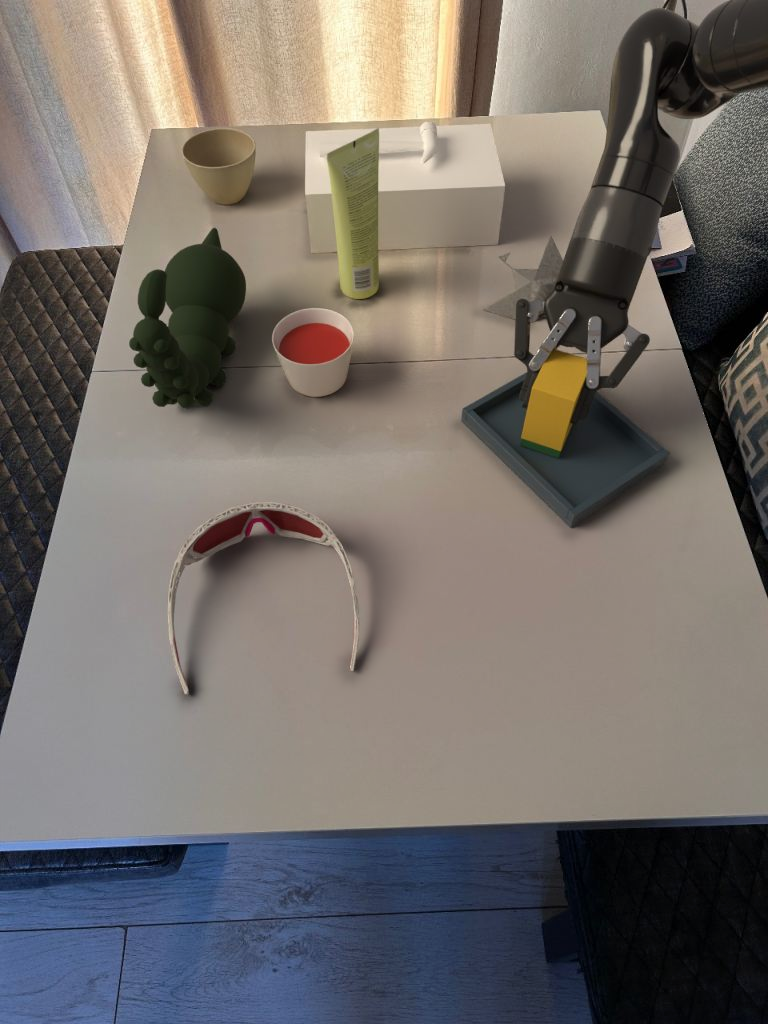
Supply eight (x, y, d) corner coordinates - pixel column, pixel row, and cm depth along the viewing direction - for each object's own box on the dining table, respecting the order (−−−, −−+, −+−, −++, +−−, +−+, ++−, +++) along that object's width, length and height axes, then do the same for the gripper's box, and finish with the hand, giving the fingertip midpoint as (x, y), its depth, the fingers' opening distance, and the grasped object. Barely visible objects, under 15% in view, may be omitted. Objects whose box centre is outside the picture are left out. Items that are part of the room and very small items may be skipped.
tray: (664, 465, 81) (670, 453, 80) (570, 528, 77) (574, 516, 75) (551, 369, 89) (554, 356, 88) (460, 421, 85) (462, 408, 83)
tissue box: (497, 244, 103) (507, 168, 93) (311, 253, 102) (303, 177, 93) (484, 182, 111) (492, 106, 102) (311, 189, 110) (304, 114, 101)
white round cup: (316, 417, 86) (311, 377, 80) (263, 377, 89) (255, 336, 84) (372, 375, 89) (370, 334, 84) (319, 338, 93) (314, 296, 88)
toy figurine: (227, 443, 86) (264, 282, 98) (185, 326, 69) (236, 149, 81) (146, 438, 86) (193, 278, 99) (85, 320, 70) (150, 145, 82)
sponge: (575, 419, 84) (593, 360, 76) (558, 458, 81) (575, 401, 73) (537, 406, 85) (550, 347, 78) (519, 445, 82) (531, 387, 75)
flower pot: (258, 215, 107) (250, 168, 101) (187, 215, 107) (175, 167, 101) (266, 174, 112) (259, 126, 107) (199, 174, 113) (188, 126, 107)
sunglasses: (345, 512, 78) (343, 491, 73) (367, 676, 71) (366, 664, 67) (174, 533, 77) (161, 513, 72) (180, 703, 70) (166, 692, 65)
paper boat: (517, 336, 91) (462, 286, 92) (520, 347, 97) (468, 300, 99) (590, 258, 89) (532, 208, 91) (588, 274, 95) (534, 228, 97)
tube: (343, 271, 100) (333, 124, 84) (382, 273, 100) (379, 126, 83) (337, 300, 97) (326, 153, 81) (377, 302, 96) (374, 155, 80)
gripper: (534, 219, 72) (477, 394, 76) (685, 259, 69) (617, 440, 73) (542, 235, 79) (490, 394, 83) (680, 272, 76) (618, 436, 80)
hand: (549, 415), depth 78 cm, fingers closed on sponge, 4 cm apart
